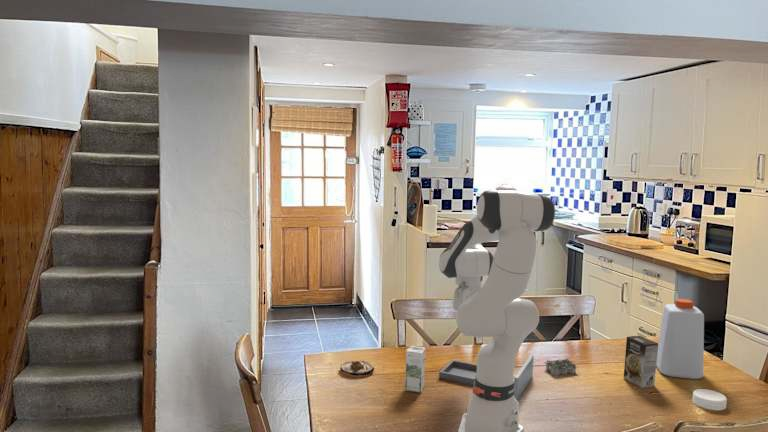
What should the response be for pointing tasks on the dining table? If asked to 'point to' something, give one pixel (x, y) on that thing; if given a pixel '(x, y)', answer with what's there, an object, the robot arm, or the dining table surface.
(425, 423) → the dining table surface
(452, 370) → the charcoal tray
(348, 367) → the dark rimmed plate
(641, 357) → the coffee box
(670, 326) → the plastic bottle
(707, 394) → the white round lid
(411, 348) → the syrup box
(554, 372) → the egg carton
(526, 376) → the slate plastic wall
